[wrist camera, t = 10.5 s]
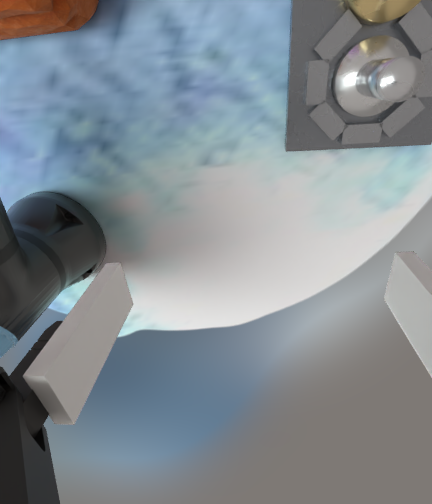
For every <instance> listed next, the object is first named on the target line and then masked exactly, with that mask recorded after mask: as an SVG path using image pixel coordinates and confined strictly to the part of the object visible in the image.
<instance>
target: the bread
mask: <svg viewBox="0 0 432 504" xmlns="http://www.w3.org/2000/svg"><path fill="white" fill-rule="evenodd" d="M98 2H99V0H0V40H4V39H12V38H20V37H27V36H35V35H43V34H51V33H58V32H66V31H74V30H78V29H79V28H80V27H82V26H83V25H84V24H85V23H86V22H87V21H89V20H90V18H91V17H92V16H93V14H94V13H95V12H96V9H97V5H98Z"/></svg>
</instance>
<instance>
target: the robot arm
mask: <svg viewBox="0 0 432 504" xmlns="http://www.w3.org/2000/svg"><path fill="white" fill-rule="evenodd" d="M105 251H106V244H105V238H104V235H103V232H102V230H101V228H100V226H99V224H98V223H97V221H96V220H95V219H94V217H93V216H92V215H91V214H90V213H89V212H88V211H87V210H86V209H85V208H84V207H82V206H81V205H80V204H78V203H77V202H75V201H74V200H72V199H70V198H68V197H66V196H63V195H60V194H56V193H51V192H38V193H33V194H30V195H28V196H26V197H24V198H23V199H21V200H19V201H17V202H16V203H15V204H14V205H12V206H11V208H10V209H9V210H8V212H7V213H6V210H5V208H4V206H3V203H2V201H1V198H0V358H1V357H2V356H3V355H4V354H5V353H6V352H7V351H8V350H9V349H10V348H12V347H14V346H15V345H16V344H17V342H18V341H19V340H20V338H21V337H22V336H23V335H24V334H25V333H26V332H27V331H28V329H29V328H30V327H31V326H32V325H33V324H34V322H35V321H36V320H37V319H38V318H39V317H40V316H41V314H42V313H43V312H44V311H45V310H46V309H47V307H48V306H49V305H50V304H51V303H52V302H53V300H54V299H55V298H56V297H57V296H58V295H59V294H60V292H61V291H62V290H64V289H66V288H68V287H70V286H72V285H74V284H76V283H78V282H80V281H82V280H84V279H85V278H87V277H89V276H90V275H91V274H92V273H93V272H94V271H95V270H96V269H97V268H98V267H99V265H100V264H101V263H102V261H103V259H104V256H105ZM384 300H385V302H386V303H387V305H388V307H389V308H390V310H391V312H392V313H393V315H394V317H395V318H396V320H397V322H398V323H399V325H400V327H401V328H402V330H403V331H404V333H405V335H406V336H407V338H408V339H409V341H410V343H411V345H412V346H413V348H414V350H415V351H416V353H417V354H418V356H419V358H420V359H421V361H422V363H423V364H424V366H425V367H426V369H427V371H428V372H429V374H430V376H431V377H432V271H431V269H430V268H429V267H428V266H427V265H426V264H425V263H424V262H423V261H422V260H421V259H420V258H419V257H418V256H417V255H416V253H414V251H409V252H395V255H394V259H393V264H392V268H391V272H390V276H389V280H388V284H387V288H386V292H385V296H384ZM132 306H133V301H132V298H131V295H130V292H129V288H128V285H127V282H126V279H125V276H124V273H123V269H122V266H121V263H106V264H105V265H104V267H103V268H102V269H101V271H100V272H99V273H98V275H97V276H96V277H95V279H94V280H93V281H92V283H91V284H90V286H89V287H88V288H87V290H86V291H85V292H84V294H83V295H82V296H81V298H80V299H79V300H78V302H77V303H76V304H75V306H74V307H73V309H72V310H71V311H70V313H69V314H68V315H67V317H66V318H65V319H64V321H56V322H55V323H54V324H53V325H51V326H50V327H49V328H47V329H46V330H45V331H44V333H43V334H42V335H41V336H40V338H39V339H38V342H36V343H35V344H34V345H33V347H32V348H31V350H29V352H28V353H27V354H26V356H25V357H24V358H23V359H22V361H21V362H20V363H19V364H18V366H17V367H16V368H15V370H14V371H13V372H12V373H11V375H10V376H8V374H7V373H6V372H5V370H4V369H3V368H2V367H0V504H60V501H59V495H58V490H57V485H56V479H55V475H54V469H53V464H52V458H51V453H50V448H49V443H48V437H47V431H46V429H45V427H44V425H43V424H44V422H45V420H46V419H47V417H48V415H49V416H50V418H51V419H52V421H53V422H54V424H68V425H74V424H75V422H76V420H77V418H78V416H79V414H80V412H81V410H82V408H83V406H84V404H85V402H86V400H87V397H88V395H89V394H90V391H91V389H92V387H93V385H94V383H95V381H96V379H97V377H98V375H99V373H100V371H101V369H102V367H103V365H104V363H105V361H106V359H107V357H108V355H109V353H110V351H111V349H112V346H113V345H114V342H115V340H116V338H117V336H118V334H119V332H120V330H121V328H122V326H123V324H124V322H125V320H126V318H127V316H128V314H129V312H130V310H131V308H132Z"/></svg>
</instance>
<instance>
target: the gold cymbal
mask: <svg viewBox="0 0 432 504" xmlns="http://www.w3.org/2000/svg"><path fill="white" fill-rule="evenodd" d="M344 1H345V4H346V7H347V9H349V10H350V11H351V12H352V13H353V15H354V16H355V17H356V19H357V20H358V21H359V22H361V23H363V24H367V25H379V24H383V23H386V22H389V21H391V20H394V19H396V18H398V17H401V16H403V15H404V14H406V13H408V12H409V11H410V10H412V9H413V8H414V7H415V6H416V5H417V4H418V3H419V2H420V1H421V0H344Z"/></svg>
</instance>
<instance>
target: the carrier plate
mask: <svg viewBox="0 0 432 504" xmlns="http://www.w3.org/2000/svg"><path fill="white" fill-rule="evenodd" d="M382 35H385V36H391V37H394V38H396V39H398V40H399V41H401V42H402V43H403V44H404V45H405V47H406V48H407V50H408V53H409V56H414V57H417V58H418V59H420V60H421V61H422V63H423V65H424V68H425V77H424V81H423V83H422V85H421V87H420V89H419V90H418V91H417V92H416V93H415V94H414V95H413V96H412V97H411V98H409V99H407V100H405V101H402V102H395V103H394V104H393V105H391V106H390V107H389V108H388V109H386V110H385V111H383V112H381V113H379V114H376V115H373V116H368V117H360V116H355V115H352V114H350V113H347V112H345V111H344V110H343V109H341V108H340V107H339V105H338V104H337V103H336V101H335V98H334V96H333V91H332V80H333V75H334V72H335V69H336V66H337V65H338V63H339V61H340V59H341V58H342V56H343V55H344V54H345V53H346V52H347V51H348V50H349V49H350V48H351V47H352V46H353V45H355V44H356V43H358V42H360V41H362V40H365V39H367V38H371V37H374V36H382ZM431 143H432V0H421V1H420V2H419V3H418V4H417V5H416V6H415V7H414V8H413V9H412V10H410V11H409V12H408V13H406V14H404V15H403V16H401V17H398V18H396V19H394V20H391V21H389V22H386V23H383V24H379V25H367V24H363V23H361V22H359V21H358V20H357V19H356V17H355V16H354V15H353V13H352V12H351V11H350V10H349V9H347V7H346V4H345V1H344V0H291V23H290V46H289V68H288V91H287V114H286V137H285V150H286V151H306V150H327V149H348V148H368V147H389V146H410V145H431Z"/></svg>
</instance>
